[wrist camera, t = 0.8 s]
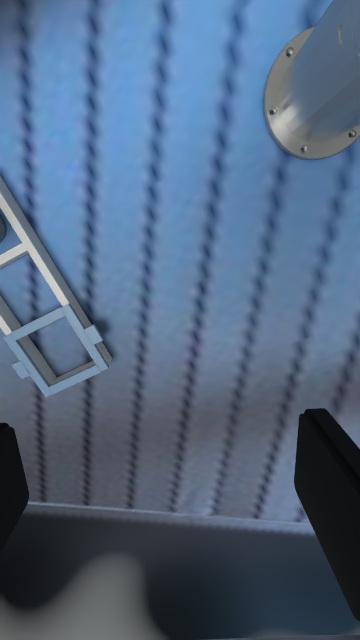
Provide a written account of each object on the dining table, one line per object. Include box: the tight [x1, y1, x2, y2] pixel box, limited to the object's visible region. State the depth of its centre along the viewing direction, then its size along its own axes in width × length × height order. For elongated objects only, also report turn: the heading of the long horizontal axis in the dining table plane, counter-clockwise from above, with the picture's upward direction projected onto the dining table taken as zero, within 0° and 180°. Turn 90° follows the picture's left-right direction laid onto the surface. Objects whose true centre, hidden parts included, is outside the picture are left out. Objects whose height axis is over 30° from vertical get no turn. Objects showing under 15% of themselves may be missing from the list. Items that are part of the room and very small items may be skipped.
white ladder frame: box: [0, 176, 112, 397], centre depth 39 cm, size 13×28×3 cm, turn 26°
